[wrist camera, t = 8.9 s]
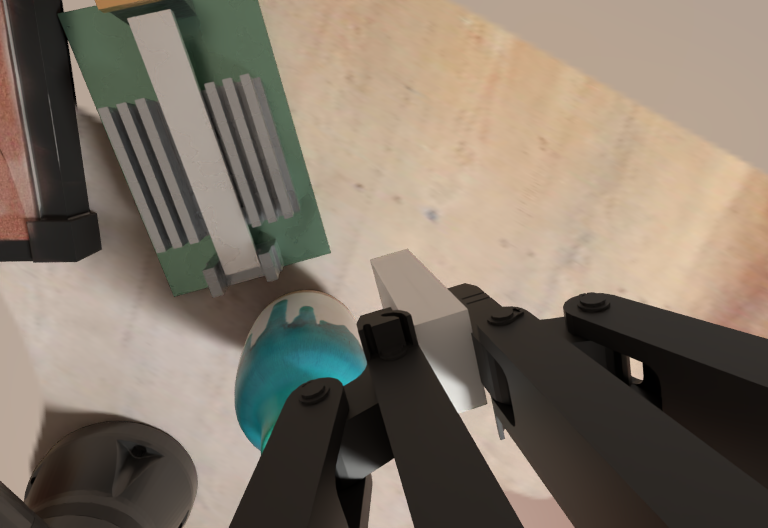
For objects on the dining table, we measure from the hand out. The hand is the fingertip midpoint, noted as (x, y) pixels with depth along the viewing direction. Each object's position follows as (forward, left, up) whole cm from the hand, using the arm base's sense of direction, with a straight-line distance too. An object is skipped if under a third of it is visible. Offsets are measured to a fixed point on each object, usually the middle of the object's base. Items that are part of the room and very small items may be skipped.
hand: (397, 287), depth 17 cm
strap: (-10, +7, -22) cm, 25 cm away
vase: (-7, -11, -27) cm, 30 cm away
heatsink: (-10, +8, -26) cm, 29 cm away
